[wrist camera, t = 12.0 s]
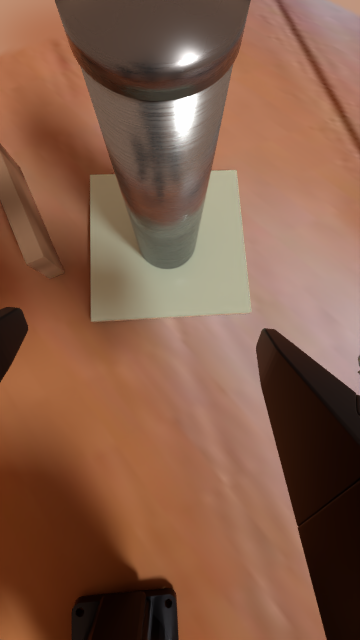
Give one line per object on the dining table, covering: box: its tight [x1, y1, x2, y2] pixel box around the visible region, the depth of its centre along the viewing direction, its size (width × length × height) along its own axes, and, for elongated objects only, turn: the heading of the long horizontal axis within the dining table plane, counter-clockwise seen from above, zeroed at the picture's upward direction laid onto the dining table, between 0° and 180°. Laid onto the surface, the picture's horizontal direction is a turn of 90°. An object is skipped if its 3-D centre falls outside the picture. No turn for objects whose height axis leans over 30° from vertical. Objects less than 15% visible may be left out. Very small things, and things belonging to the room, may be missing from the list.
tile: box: [90, 170, 251, 322], centre depth 19 cm, size 12×12×1 cm
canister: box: [55, 0, 250, 269], centre depth 12 cm, size 5×5×13 cm
